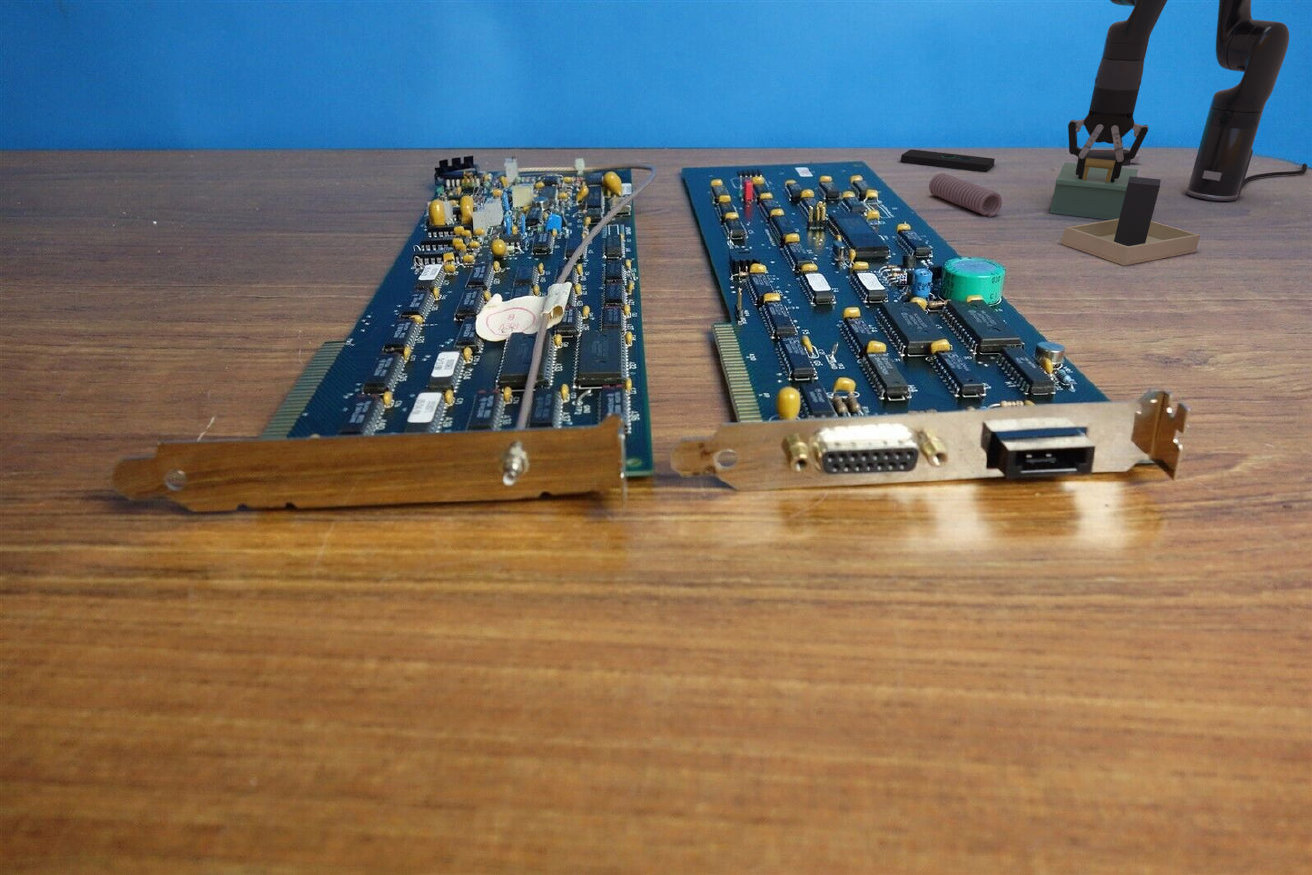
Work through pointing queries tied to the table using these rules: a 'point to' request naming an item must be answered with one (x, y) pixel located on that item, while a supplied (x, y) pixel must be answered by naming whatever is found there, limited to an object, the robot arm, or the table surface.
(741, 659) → the table surface
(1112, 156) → the usb drive
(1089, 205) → the chest
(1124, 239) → the block
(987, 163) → the smart home device
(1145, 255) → the tray
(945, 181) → the coil
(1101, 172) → the lid
